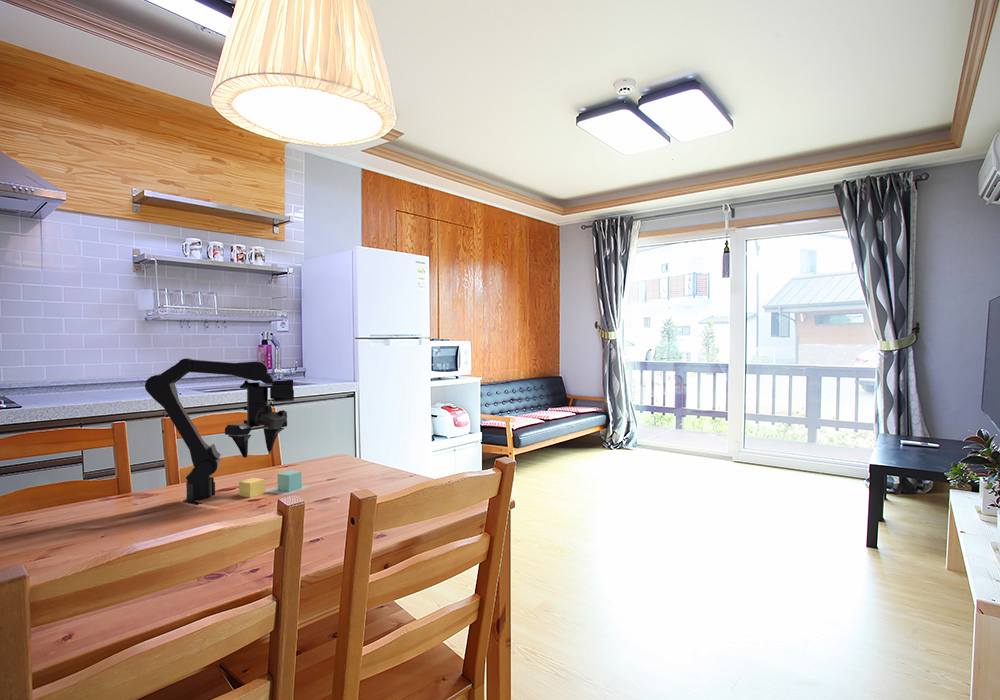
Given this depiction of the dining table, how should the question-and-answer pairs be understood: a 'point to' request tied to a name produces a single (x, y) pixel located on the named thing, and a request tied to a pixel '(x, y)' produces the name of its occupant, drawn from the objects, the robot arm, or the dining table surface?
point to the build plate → (275, 490)
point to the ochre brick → (251, 487)
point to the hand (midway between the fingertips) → (257, 454)
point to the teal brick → (289, 481)
